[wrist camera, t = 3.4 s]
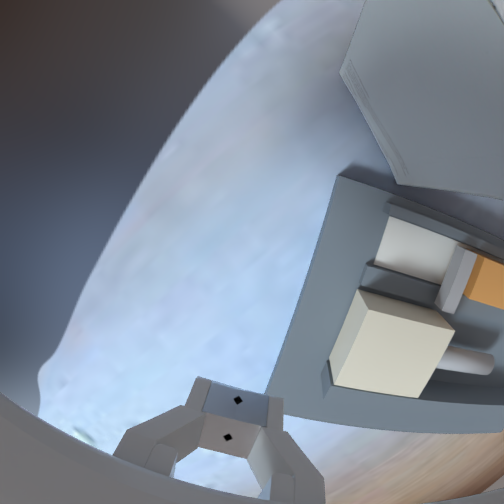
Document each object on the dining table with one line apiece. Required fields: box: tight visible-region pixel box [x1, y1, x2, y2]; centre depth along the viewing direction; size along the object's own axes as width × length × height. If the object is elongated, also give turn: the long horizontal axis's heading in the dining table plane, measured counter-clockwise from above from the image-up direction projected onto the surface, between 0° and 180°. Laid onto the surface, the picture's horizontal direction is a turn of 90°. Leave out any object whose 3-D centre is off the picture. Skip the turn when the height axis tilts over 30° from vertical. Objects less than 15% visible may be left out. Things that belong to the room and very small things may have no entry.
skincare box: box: [339, 0, 504, 200], centre depth 9 cm, size 8×6×15 cm
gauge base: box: [264, 176, 504, 434], centre depth 16 cm, size 17×26×7 cm, turn 75°
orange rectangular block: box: [463, 248, 504, 310], centre depth 16 cm, size 3×4×2 cm, turn 75°
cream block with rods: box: [329, 245, 495, 398], centre depth 17 cm, size 10×12×3 cm
